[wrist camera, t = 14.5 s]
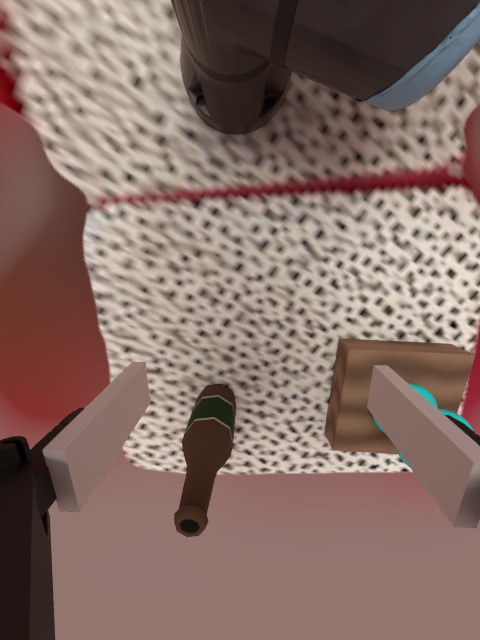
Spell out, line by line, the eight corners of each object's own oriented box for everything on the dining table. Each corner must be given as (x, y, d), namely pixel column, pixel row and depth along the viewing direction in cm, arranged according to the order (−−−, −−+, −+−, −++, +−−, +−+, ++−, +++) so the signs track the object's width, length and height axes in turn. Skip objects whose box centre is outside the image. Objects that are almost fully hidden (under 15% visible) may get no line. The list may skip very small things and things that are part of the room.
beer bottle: (194, 411, 51) (148, 545, 28) (202, 377, 49) (158, 492, 26) (231, 419, 51) (217, 560, 28) (240, 386, 49) (233, 508, 26)
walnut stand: (338, 338, 46) (349, 348, 41) (450, 344, 45) (475, 355, 40) (324, 431, 51) (332, 450, 46) (424, 437, 50) (443, 456, 46)
